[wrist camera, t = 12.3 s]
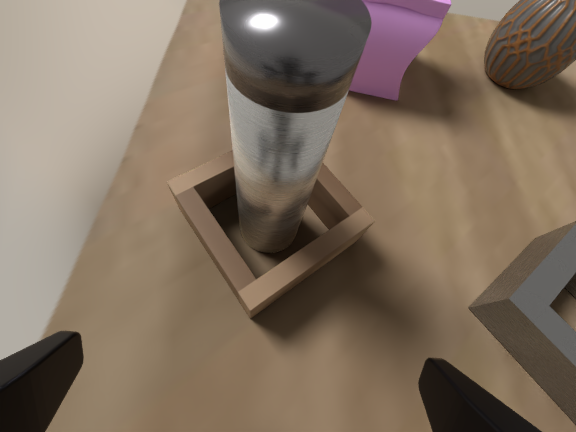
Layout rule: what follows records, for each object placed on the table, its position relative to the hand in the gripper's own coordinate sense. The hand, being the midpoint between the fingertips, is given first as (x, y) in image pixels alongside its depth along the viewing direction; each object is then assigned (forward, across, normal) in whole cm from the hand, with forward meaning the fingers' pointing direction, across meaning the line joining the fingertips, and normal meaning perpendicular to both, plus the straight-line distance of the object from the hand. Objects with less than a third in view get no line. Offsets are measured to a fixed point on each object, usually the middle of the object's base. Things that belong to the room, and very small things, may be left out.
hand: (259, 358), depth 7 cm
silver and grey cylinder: (+11, 0, 0) cm, 11 cm away
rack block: (+11, 0, 0) cm, 11 cm away
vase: (+24, -22, -13) cm, 35 cm away
